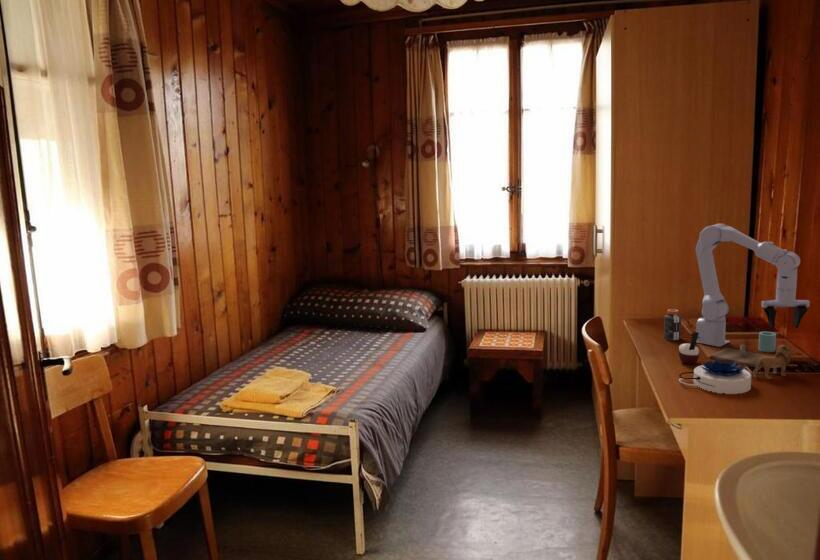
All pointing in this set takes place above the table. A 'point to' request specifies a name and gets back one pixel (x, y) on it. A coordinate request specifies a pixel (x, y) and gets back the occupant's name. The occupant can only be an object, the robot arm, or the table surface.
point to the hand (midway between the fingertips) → (783, 327)
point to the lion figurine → (774, 361)
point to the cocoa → (689, 351)
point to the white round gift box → (721, 377)
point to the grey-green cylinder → (767, 341)
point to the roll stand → (738, 356)
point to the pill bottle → (672, 325)
